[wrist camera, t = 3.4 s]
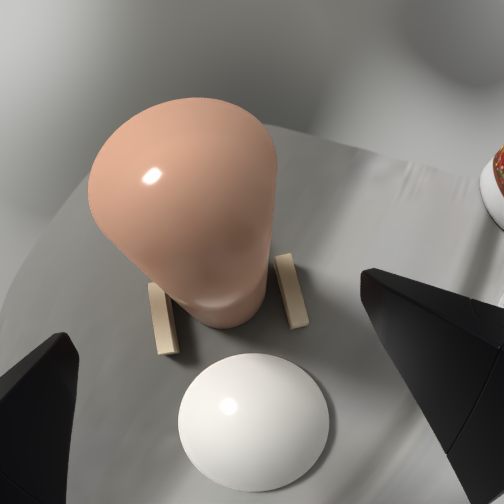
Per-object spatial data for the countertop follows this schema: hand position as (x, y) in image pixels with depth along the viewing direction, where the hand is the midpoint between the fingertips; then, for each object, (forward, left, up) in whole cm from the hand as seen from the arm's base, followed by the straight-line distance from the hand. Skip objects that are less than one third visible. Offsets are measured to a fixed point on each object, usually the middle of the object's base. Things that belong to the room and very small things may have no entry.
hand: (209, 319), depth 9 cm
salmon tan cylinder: (+2, +3, -11) cm, 12 cm away
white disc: (-3, -4, -11) cm, 12 cm away
